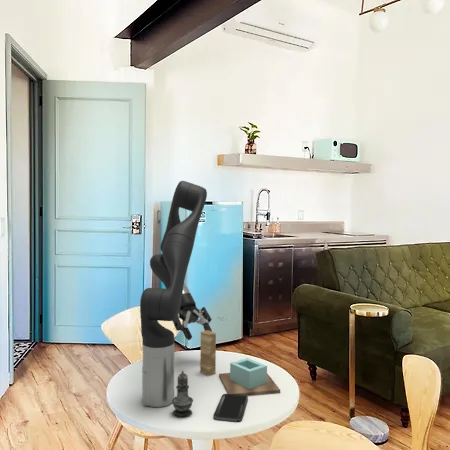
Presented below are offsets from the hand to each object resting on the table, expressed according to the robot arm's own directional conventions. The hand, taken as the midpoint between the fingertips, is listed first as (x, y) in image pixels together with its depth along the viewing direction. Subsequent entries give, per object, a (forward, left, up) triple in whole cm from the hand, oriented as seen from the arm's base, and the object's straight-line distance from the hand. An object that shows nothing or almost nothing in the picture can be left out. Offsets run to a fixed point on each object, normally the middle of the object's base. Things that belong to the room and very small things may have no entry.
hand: (200, 336), depth 157 cm
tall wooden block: (+2, -4, -12) cm, 12 cm away
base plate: (+13, -16, -12) cm, 24 cm away
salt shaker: (-10, -31, -12) cm, 34 cm away
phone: (+4, -31, -12) cm, 33 cm away
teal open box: (+13, -16, -12) cm, 24 cm away
